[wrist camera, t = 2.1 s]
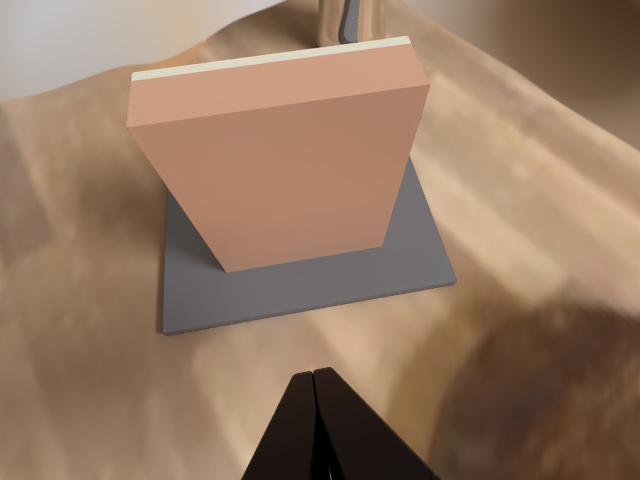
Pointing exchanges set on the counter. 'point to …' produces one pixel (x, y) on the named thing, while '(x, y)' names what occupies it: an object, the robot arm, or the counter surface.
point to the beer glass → (350, 21)
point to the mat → (300, 270)
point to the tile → (284, 146)
